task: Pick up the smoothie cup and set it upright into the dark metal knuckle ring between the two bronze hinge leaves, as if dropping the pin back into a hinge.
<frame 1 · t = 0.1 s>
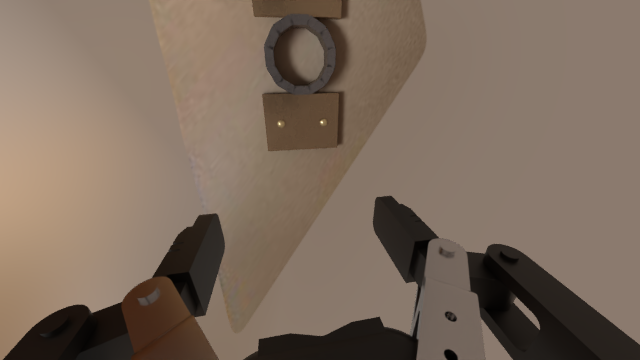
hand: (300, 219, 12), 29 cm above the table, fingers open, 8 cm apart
hinge base: (299, 58, 34), on the table
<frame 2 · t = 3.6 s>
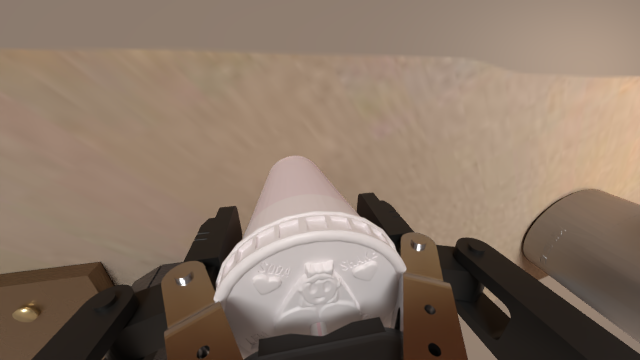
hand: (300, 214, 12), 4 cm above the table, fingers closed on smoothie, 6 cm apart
hinge base: (197, 305, 19), on the table
smoothie: (294, 179, 16), on the table, touching gripper
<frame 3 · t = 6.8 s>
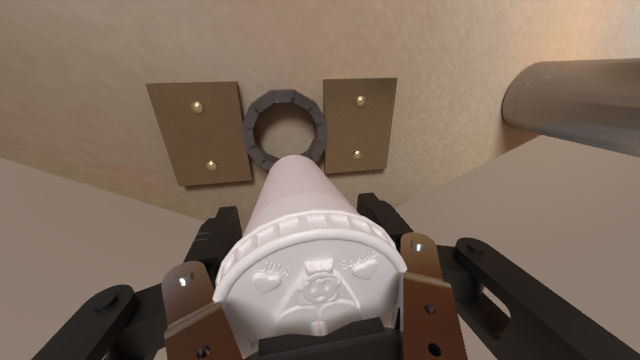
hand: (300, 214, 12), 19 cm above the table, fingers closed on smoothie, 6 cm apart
hinge base: (285, 131, 29), on the table
smoothie: (294, 178, 16), point 15 cm above the table, touching gripper
when the fingers open (5 cm above the table, at t = 10.3 s): smoothie stays where it is, resting in hinge base.
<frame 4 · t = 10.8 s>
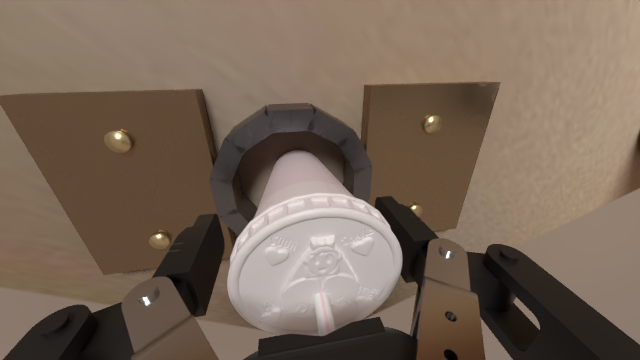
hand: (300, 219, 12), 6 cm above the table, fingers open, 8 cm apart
hinge base: (293, 175, 17), on the table
smoothie: (297, 172, 17), resting in hinge base
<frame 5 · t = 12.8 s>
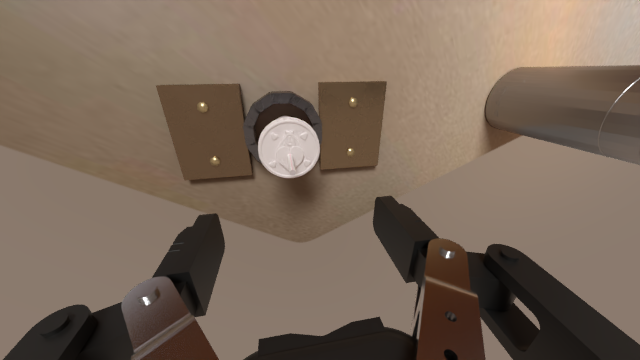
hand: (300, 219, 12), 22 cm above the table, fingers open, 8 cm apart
hinge base: (283, 129, 31), on the table
smoothie: (285, 128, 32), resting in hinge base
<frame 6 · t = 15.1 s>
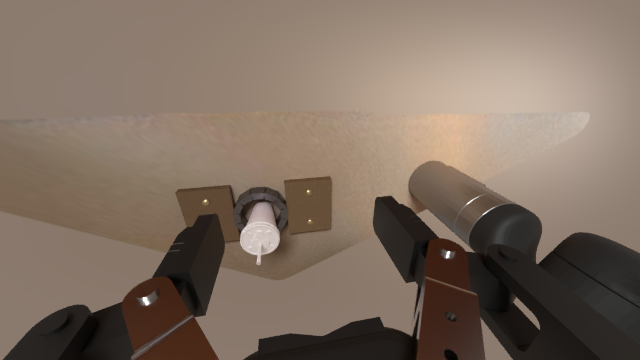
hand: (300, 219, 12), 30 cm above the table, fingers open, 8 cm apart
hinge base: (261, 209, 45), on the table
smoothie: (263, 208, 45), resting in hinge base
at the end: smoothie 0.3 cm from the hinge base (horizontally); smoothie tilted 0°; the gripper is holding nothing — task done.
